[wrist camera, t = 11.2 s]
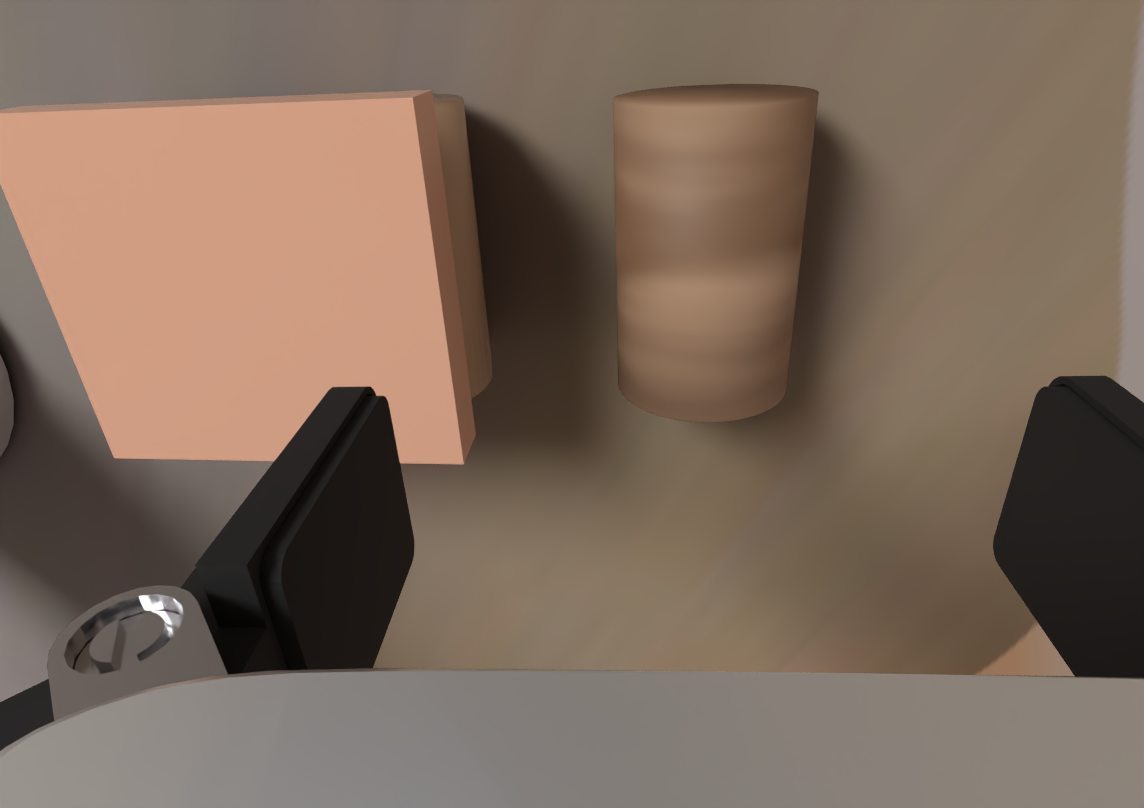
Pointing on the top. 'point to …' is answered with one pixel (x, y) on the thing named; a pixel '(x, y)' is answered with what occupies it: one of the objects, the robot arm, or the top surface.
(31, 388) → the top surface
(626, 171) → the roller
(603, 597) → the top surface
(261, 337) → the slab
